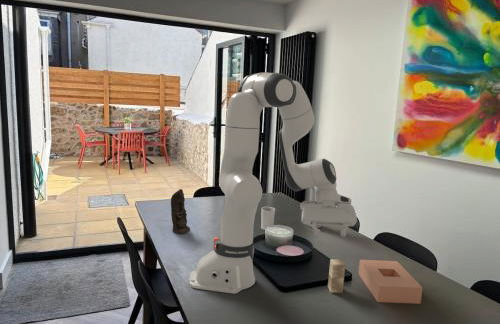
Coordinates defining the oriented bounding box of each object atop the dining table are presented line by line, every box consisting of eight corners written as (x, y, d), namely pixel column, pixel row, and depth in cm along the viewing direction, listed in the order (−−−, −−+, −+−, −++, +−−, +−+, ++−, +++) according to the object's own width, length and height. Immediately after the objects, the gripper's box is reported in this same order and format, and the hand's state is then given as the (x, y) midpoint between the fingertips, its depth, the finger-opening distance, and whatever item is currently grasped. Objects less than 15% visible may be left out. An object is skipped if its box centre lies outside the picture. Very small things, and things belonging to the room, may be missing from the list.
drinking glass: (276, 228, 185) (277, 209, 184) (268, 231, 180) (269, 211, 179) (266, 225, 190) (267, 205, 188) (257, 228, 185) (258, 208, 183)
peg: (330, 292, 126) (333, 264, 124) (327, 286, 129) (330, 259, 128) (342, 293, 126) (345, 264, 124) (339, 287, 130) (342, 259, 128)
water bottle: (322, 229, 188) (327, 180, 184) (306, 227, 189) (310, 178, 185) (322, 223, 197) (327, 176, 192) (307, 222, 198) (311, 175, 194)
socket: (377, 302, 121) (379, 286, 120) (358, 273, 141) (359, 259, 140) (420, 303, 121) (422, 287, 121) (395, 275, 141) (397, 261, 140)
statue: (183, 234, 171) (184, 191, 167) (169, 232, 173) (170, 189, 170) (190, 230, 177) (191, 188, 174) (177, 227, 179) (178, 186, 176)
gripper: (301, 196, 142) (303, 230, 134) (355, 198, 143) (360, 232, 134) (298, 204, 147) (300, 237, 139) (350, 206, 148) (355, 240, 140)
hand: (330, 235), depth 137 cm, fingers open, 8 cm apart
